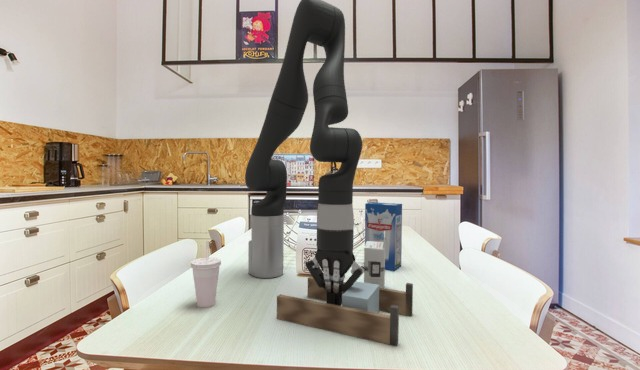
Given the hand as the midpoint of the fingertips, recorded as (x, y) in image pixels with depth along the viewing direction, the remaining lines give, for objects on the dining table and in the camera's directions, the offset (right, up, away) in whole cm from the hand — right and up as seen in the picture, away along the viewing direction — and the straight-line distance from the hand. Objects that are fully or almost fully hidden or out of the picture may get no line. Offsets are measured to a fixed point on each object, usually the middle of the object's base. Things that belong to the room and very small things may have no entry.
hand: (334, 309), depth 68 cm
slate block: (+5, -1, -2) cm, 6 cm away
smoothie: (-28, -1, +5) cm, 29 cm away
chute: (+2, -1, -1) cm, 3 cm away
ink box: (+11, -1, +14) cm, 18 cm away
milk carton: (+17, -1, +37) cm, 40 cm away
